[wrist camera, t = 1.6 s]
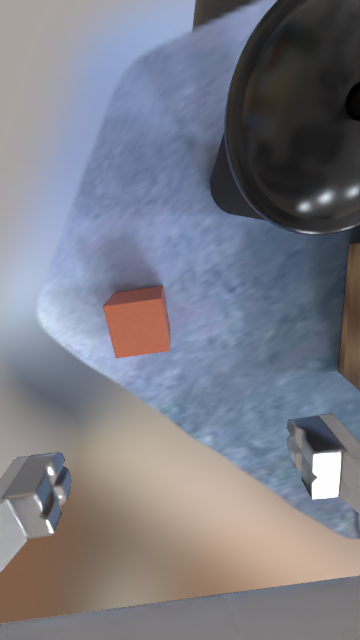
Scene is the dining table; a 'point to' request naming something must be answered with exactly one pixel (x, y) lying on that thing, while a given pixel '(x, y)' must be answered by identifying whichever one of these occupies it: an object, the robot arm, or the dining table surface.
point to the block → (138, 322)
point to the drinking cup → (295, 120)
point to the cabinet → (351, 320)
